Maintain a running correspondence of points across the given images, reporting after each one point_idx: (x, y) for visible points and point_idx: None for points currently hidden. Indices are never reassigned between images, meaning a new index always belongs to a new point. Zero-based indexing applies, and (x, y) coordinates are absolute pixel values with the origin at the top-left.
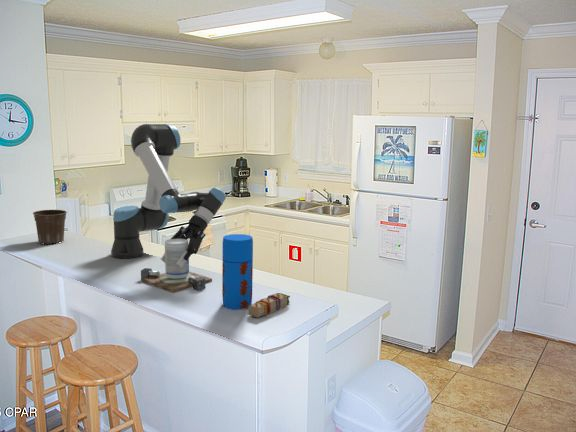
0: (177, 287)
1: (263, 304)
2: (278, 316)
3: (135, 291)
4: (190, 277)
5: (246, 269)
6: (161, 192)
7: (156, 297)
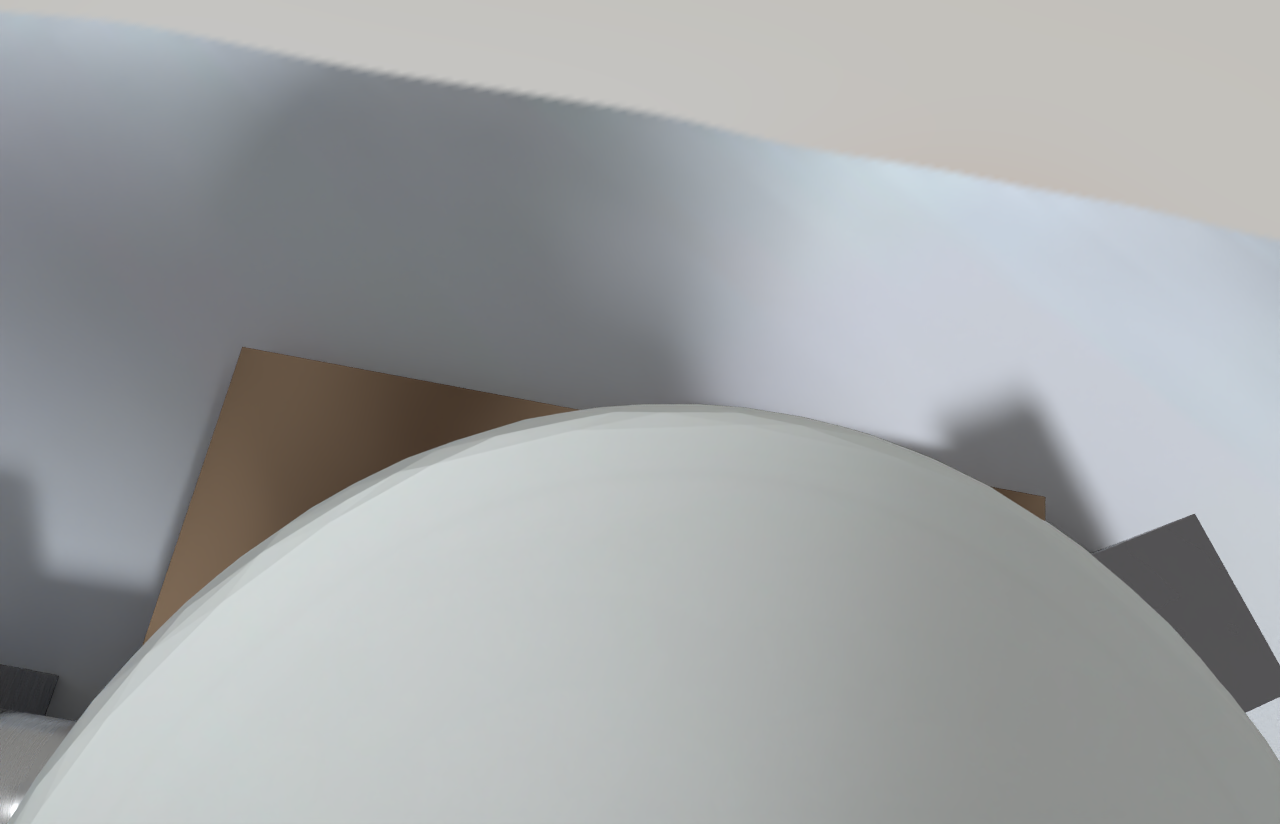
0: (241, 464)
1: None
2: None
3: (742, 159)
4: None
5: None
6: None
7: (337, 120)
